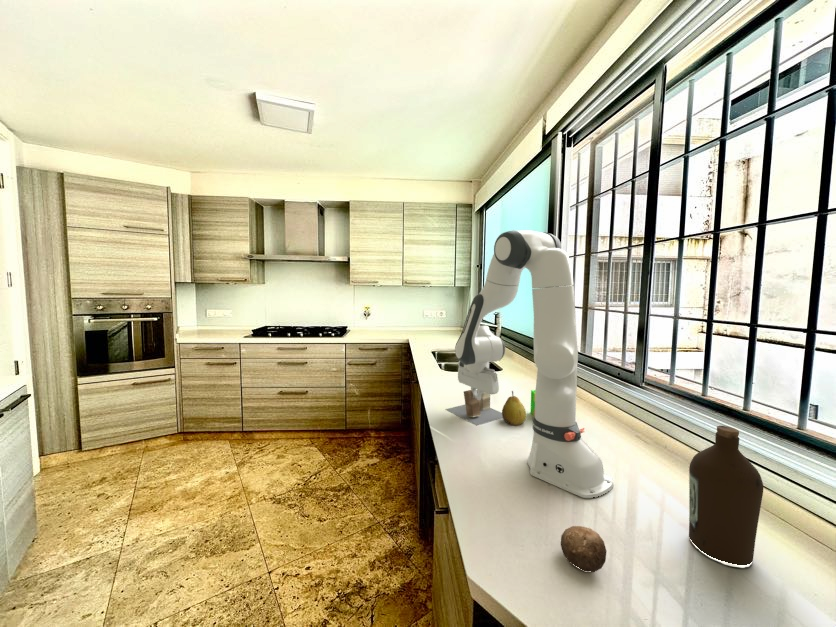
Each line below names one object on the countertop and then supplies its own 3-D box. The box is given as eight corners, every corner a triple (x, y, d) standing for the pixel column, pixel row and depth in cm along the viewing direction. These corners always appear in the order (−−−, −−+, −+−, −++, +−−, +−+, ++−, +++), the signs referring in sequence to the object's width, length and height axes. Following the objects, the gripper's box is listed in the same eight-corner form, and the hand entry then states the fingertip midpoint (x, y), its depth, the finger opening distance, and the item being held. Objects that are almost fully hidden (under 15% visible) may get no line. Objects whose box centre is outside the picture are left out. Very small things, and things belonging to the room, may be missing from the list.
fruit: (521, 429, 122) (522, 398, 121) (498, 423, 127) (499, 393, 126) (529, 422, 128) (529, 392, 128) (506, 416, 134) (507, 388, 133)
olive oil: (753, 547, 66) (763, 427, 64) (760, 583, 58) (772, 447, 56) (685, 522, 73) (692, 414, 71) (683, 551, 65) (691, 429, 63)
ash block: (490, 408, 141) (490, 386, 141) (483, 410, 139) (483, 387, 139) (483, 406, 145) (483, 384, 144) (476, 407, 143) (477, 385, 142)
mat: (509, 416, 134) (509, 415, 133) (476, 426, 124) (476, 425, 124) (476, 402, 150) (476, 401, 150) (444, 410, 141) (444, 409, 141)
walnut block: (480, 415, 132) (477, 390, 133) (473, 417, 130) (469, 391, 131) (474, 414, 135) (470, 389, 136) (466, 416, 133) (463, 391, 134)
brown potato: (597, 528, 67) (589, 512, 64) (620, 574, 59) (611, 558, 57) (560, 541, 68) (550, 526, 66) (578, 586, 61) (568, 571, 58)
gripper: (503, 369, 122) (502, 405, 123) (467, 359, 139) (466, 390, 141) (490, 371, 119) (489, 408, 120) (455, 361, 136) (454, 393, 137)
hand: (476, 398), depth 130 cm, fingers closed
